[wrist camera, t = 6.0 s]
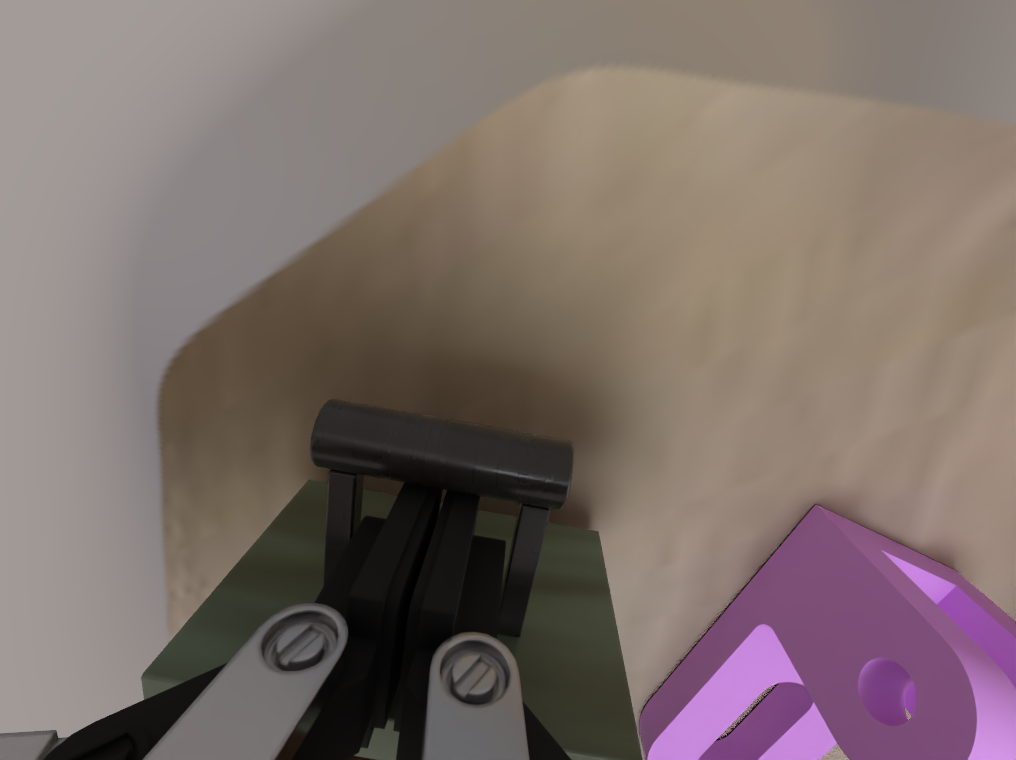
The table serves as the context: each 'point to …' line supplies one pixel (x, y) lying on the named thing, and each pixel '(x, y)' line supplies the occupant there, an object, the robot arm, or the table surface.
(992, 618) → the bracket
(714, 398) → the table surface
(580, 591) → the drawer
